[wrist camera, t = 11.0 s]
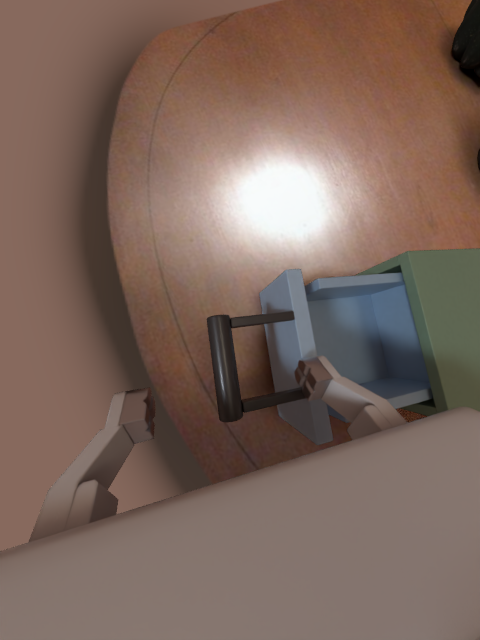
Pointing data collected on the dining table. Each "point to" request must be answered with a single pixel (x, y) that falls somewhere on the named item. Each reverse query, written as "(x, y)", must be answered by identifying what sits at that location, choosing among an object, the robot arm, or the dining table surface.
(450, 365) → the green drawer cabinet
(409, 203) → the dining table surface
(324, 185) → the dining table surface
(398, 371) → the cabinet drawer
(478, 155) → the planter
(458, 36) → the squash
